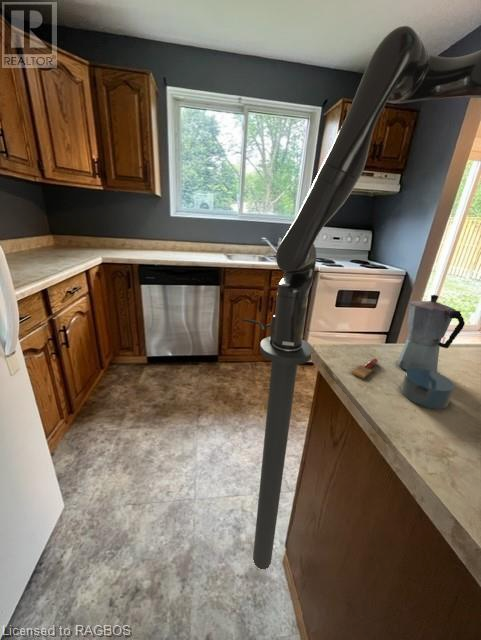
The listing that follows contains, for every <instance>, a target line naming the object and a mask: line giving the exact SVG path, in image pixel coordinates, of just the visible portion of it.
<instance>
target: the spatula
mask: <svg viewBox="0 0 481 640" xmlns="http://www.w3.org/2000/svg"><path fill="white" fill-rule="evenodd" d="M377 363H378V359H377V358H375V357H374V358H372V359H371V360H370V361H368V362H367V363H366V364H364V365H362V364H361V365H359V366H357V368H355V369H354V370H352V371H351V373H352V375H354V376H356V377H359V378H361V379H365V378H366V377H368V376H369V375H370V374H371V373H372V372H373V369H372V367H374V366H375V365H376V364H377Z"/></svg>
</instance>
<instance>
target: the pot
mask: <svg viewBox="0 0 481 640" xmlns="http://www.w3.org/2000/svg"><path fill="white" fill-rule="evenodd" d="M454 389H455V384H454V383H453V382H452V381H451V379H450V378H448V377H446V376H445V375H443V374H441V372H438V371H437V372H435V371H432V370H430V371H429V370H425V369H419V368H412V369H408V370H405V372H404V376H403V380H402V383H401V386H400V392H401V394H402V395H403V397H405V398H406V399H408V400H409V401H411V402H412V403H414V404H416V405H418V406H421V407H424V408H429V409H434V410H443V409H445V408H447V407H448V406H449V403H450V400H451V397H452V395H453V394H454V393H453V392H454Z"/></svg>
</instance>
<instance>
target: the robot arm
mask: <svg viewBox="0 0 481 640" xmlns="http://www.w3.org/2000/svg"><path fill="white" fill-rule="evenodd" d="M459 98H461V99H462V98H463V99H464V98H465V99H466V98H470V99H481V49H480V50H477V51H475V52H472V53H469V54H466V55H462V56H456V57H444V56H438V55H433V54H429V52H428V50H427V49H426V47H425V45H424V43H423V41H422V39H421V38H420V36H419V35H418V33H417V32H416V31H415V30H414V28H412V27H411V26H410V25H409V26H408V25H401V26H398V27H396V28H395V29H393V30H392V31H390V32H389V33H388V34H387V35H386V36H385V37H384V38H383V39H382V40H381V42H380V43H379V44H378V45H377V47H376V49H375V50H374V52H373V53H372V55H371V57H370V59H369V61H368V64H367V65H366V68H365V70H364V72H363V75H362V77H361V80H360V83H359V85H358V87H357V90H356V92H355V95H354V97H353V100H352V103H351V105H350V107H349V109H348V112H347V113H346V116H345V119H344V121H343V122H342V124H341V126H340V128H339V130H338V133H337V135H336V137H335V139H334V141H333V144H332V146H331V147H330V150H329V151H328V154H327V155H326V157H325V159H324V161H323V163H322V165H321V167H320V169H319V171H318V173H317V175H316V177H315V179H314V180H313V183H312V185H311V188H310V189H309V191H308V193H307V196H306V197H305V199H304V201H303V204H302V205H301V208H300V209H299V212H298V214H297V216H296V218H295V219H294V221H293V223H292V224H291V226H290V228H289V230H288V231H287V232H286V234H285V236H284V237H283V239H282V240H281V242H280V244H279V245H278V248H277V250H276V255H275V259H276V261H275V262H276V265H277V266H278V268H279V270H281V271H282V272H283V276H282V278H281V280H280V282H279V283H278V284H277V288H276V289H277V290H276V300H275V311H274V315H272V317H271V322H270V324H266V325H263V323H261V322H260V321H257V320H254V319H253V320H252V319H247V318H242V320H241V321H243V322H247V323H253V324H257V325H259V326H260V327H261V330H262V331H267V329H268V328H269V332H270V336H269V337H270V344H272V346H273V347H274V348H275V349H277V350H279V351H283V352H297V351H299V350H301V347H302V340H303V338H304V330H305V322H306V315H307V308H308V301H309V293H310V289H311V287H312V285H313V281H314V275H315V271H316V270H315V269H316V265H317V248H316V245H315V244H314V243H315V242H316V239H317V238H318V236H319V234H320V232H321V231H322V229H323V228H324V227H325V225H326V224H327V223H328V222H329V221H330V220H331V219H332V218H333V216H335V214H336V213H337V212H338V211H339V210H340V209H341V207H342V206H343V205H344V204H345V202H346V201H347V199H348V198H349V196H351V193H352V192H353V190H354V188H355V186H356V185H357V183H358V181H359V179H360V178H361V176H362V174H363V172H364V169H365V166H366V163H367V159H368V155H369V151H370V146H371V142H372V137H373V133H374V130H375V126H376V125H377V123H378V119H379V117H380V115H381V114H382V112H383V110H384V108H385V106H386V104H387V103H389V104H406V103H414V102H420V101H430V100H439V99H440V100H441V99H459Z"/></svg>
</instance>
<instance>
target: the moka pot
mask: <svg viewBox="0 0 481 640" xmlns="http://www.w3.org/2000/svg"><path fill="white" fill-rule="evenodd" d="M438 299H439V296H438V295H437V294H432V295H431V294H430V300H411V301H410V303H409V306H408V317H407V318H408V319H407V328H406V329H407V338H406V340H405V342H404V345H403V348H402V350H401V353H400V354H399V357H398V360H397V365H398V367H400V368H401V369H403V370H405V371H407V370H408V369H412V368H419V369H425V370H429V371H430V370H432V371H435V372H438V365H439V354H440V348H444V349H449V347H450V346H451V345H452V343H453V342H454V341H455V340H456V338H457V336H458V335H459V334H460V333H461V331H463V329H464V326H465V324H466V322H465V319H464V317H463V316H462V313H461V310H456V309H455V308H453V307H451V306H449V305H446V304H444V303H440V302H439V301H438V302H437V300H438ZM453 319H456V320H457V321H458V323H457V325H456V327H454V329H453V331H452V333H450V335H449V337H448V339H447V340H446V341H445V342H444V343H443V342H442V339H443V338H445V336H446V333H447V331H448V329H449V326H450V324H451V322H452V321H453Z"/></svg>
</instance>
